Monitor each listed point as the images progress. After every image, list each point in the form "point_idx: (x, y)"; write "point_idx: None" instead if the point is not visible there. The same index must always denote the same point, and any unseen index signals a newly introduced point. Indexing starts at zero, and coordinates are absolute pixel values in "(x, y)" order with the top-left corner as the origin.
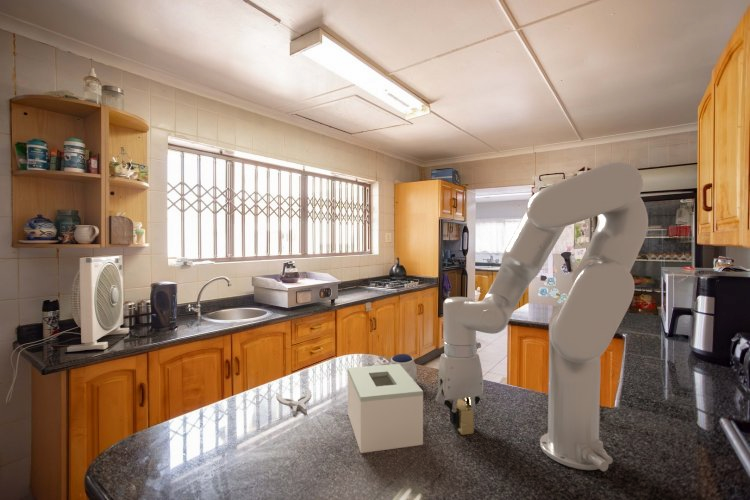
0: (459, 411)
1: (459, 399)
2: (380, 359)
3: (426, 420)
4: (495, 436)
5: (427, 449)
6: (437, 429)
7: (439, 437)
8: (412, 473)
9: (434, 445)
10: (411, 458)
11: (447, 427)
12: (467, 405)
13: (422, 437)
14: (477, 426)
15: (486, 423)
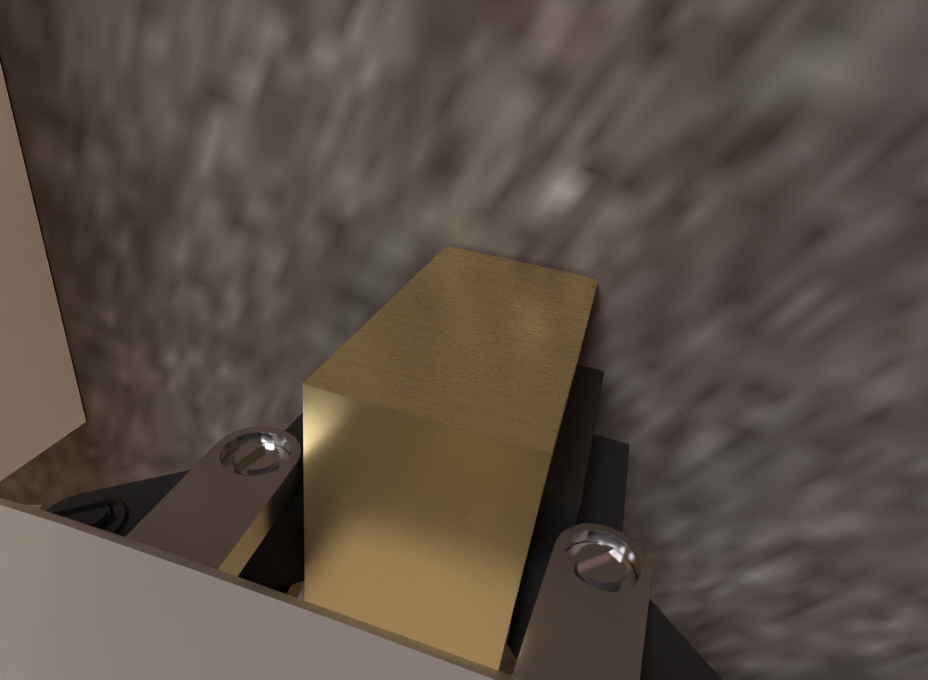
0: None
1: (494, 446)
2: None
3: (194, 68)
4: (704, 619)
5: (108, 473)
6: (253, 295)
7: (228, 405)
8: None
9: (163, 463)
10: (8, 490)
11: (364, 308)
12: (485, 651)
13: (33, 456)
14: (689, 437)
15: (856, 442)
